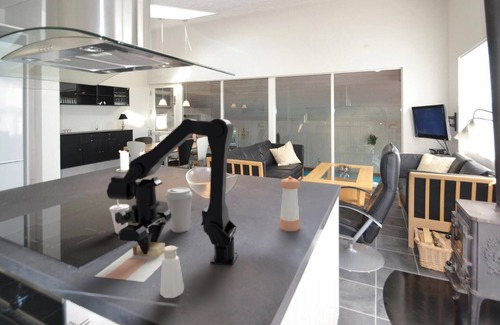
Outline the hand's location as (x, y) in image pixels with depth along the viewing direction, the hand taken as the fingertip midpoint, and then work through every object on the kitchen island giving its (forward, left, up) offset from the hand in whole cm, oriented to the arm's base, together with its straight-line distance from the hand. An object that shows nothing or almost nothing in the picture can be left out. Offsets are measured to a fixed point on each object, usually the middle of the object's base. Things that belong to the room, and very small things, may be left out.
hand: (149, 250), depth 82 cm
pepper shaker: (+16, +16, -1) cm, 22 cm away
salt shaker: (-28, +40, -1) cm, 49 cm away
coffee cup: (-19, +1, -1) cm, 19 cm away
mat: (+5, 0, -1) cm, 5 cm away
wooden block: (0, 0, -1) cm, 1 cm away
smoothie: (-13, -19, -1) cm, 23 cm away
